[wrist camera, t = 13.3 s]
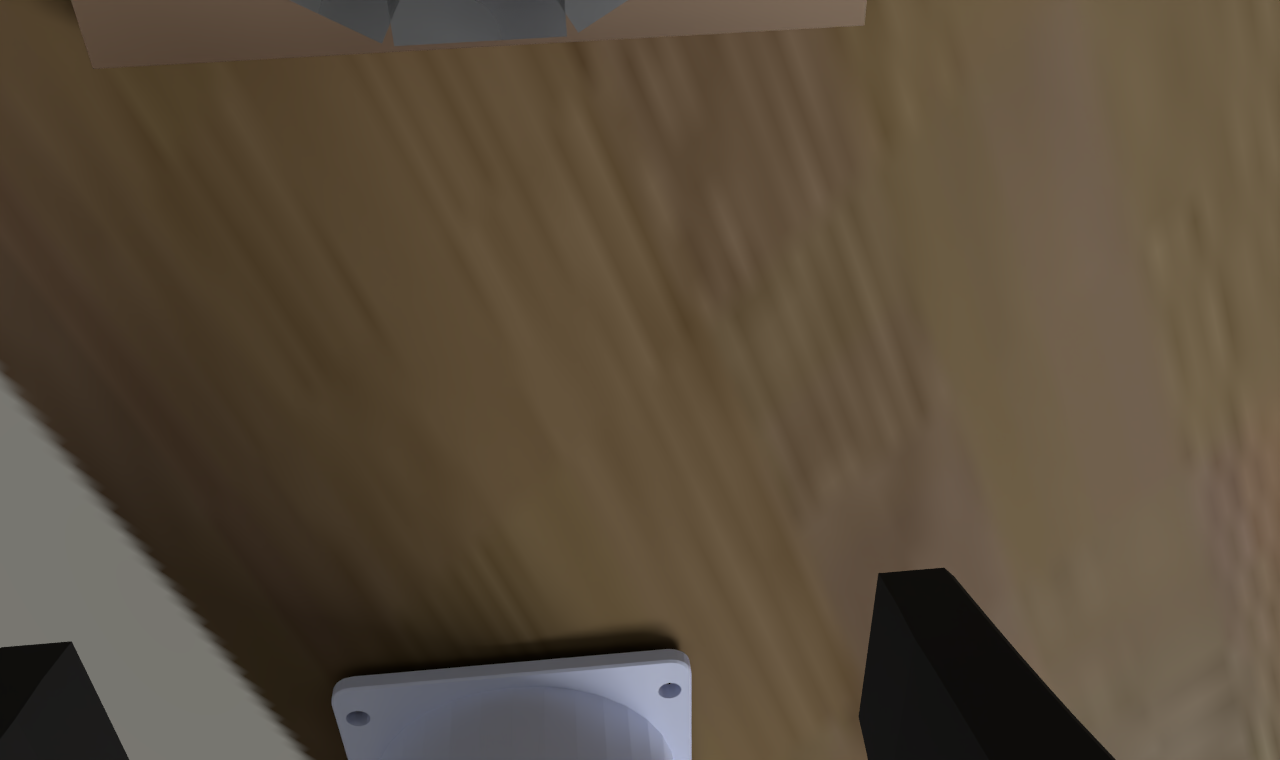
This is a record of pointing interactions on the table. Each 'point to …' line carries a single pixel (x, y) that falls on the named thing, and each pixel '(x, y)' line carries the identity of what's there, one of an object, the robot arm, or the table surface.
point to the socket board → (413, 25)
